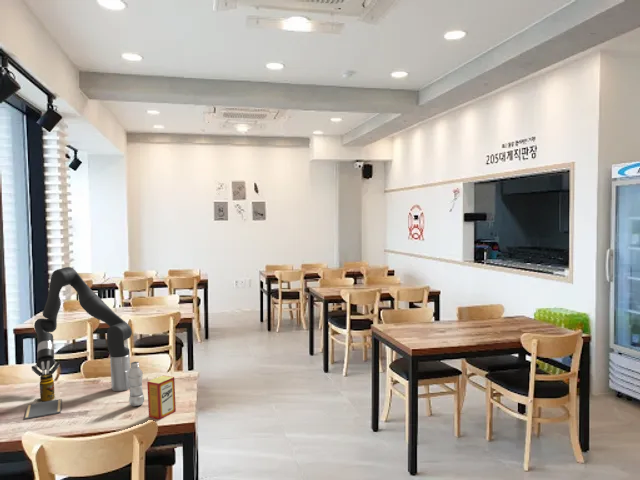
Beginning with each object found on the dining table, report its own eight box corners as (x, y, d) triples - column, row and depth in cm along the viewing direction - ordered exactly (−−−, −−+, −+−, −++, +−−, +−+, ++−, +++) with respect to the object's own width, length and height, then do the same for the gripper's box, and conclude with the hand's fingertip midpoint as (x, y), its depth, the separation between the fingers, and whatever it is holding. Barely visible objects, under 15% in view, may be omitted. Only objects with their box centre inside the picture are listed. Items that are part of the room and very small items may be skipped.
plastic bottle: (147, 403, 229) (145, 361, 228) (137, 408, 222) (135, 365, 221) (136, 401, 231) (134, 360, 230) (126, 407, 224) (124, 364, 223)
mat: (27, 405, 229) (27, 404, 229) (61, 400, 236) (61, 398, 236) (24, 419, 213) (24, 418, 213) (60, 413, 220) (60, 411, 220)
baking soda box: (164, 409, 221) (163, 374, 220) (175, 411, 218) (174, 376, 217) (148, 417, 212) (147, 381, 212) (160, 419, 210) (158, 383, 209)
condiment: (56, 400, 236) (54, 375, 235) (36, 404, 231) (34, 379, 231) (54, 395, 242) (53, 372, 241) (35, 399, 237) (33, 375, 237)
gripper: (30, 349, 247) (29, 380, 237) (59, 346, 253) (60, 375, 243) (31, 357, 252) (31, 388, 242) (60, 353, 258) (61, 383, 248)
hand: (45, 381), depth 242 cm, fingers closed
